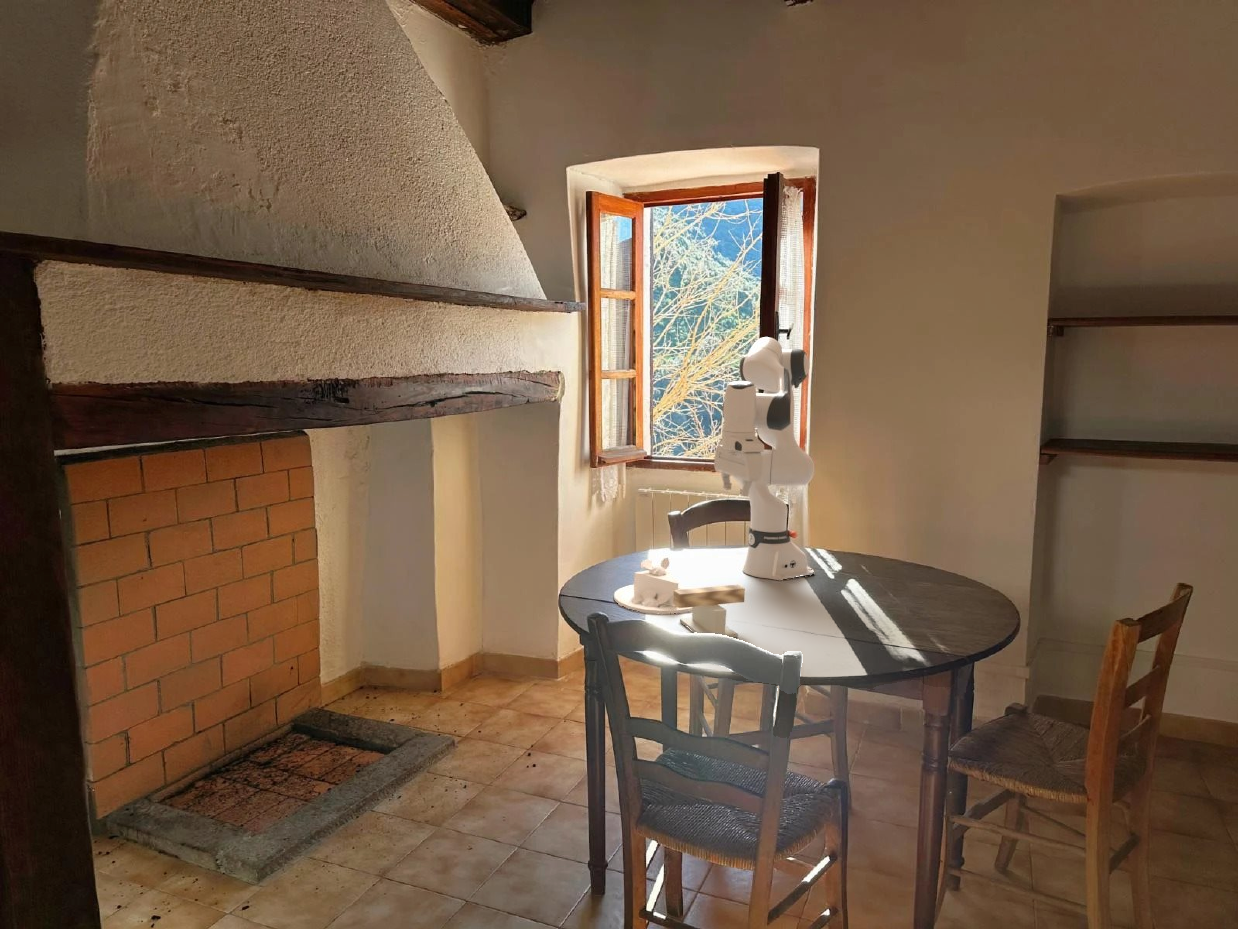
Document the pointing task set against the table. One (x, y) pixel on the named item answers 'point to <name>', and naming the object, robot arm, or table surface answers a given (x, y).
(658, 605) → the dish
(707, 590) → the beech bar
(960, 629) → the table surface
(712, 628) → the ridge block
